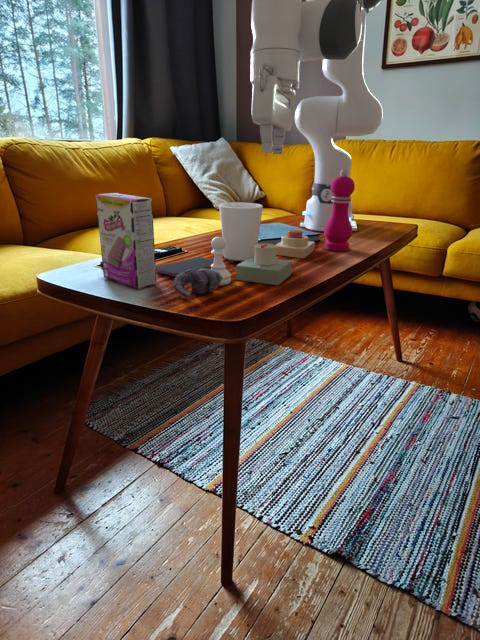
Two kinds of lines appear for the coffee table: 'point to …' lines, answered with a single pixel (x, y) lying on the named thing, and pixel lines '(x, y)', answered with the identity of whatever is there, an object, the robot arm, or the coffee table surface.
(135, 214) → the candy bar box
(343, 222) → the pepper mill
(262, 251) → the knob
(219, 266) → the chess pawn
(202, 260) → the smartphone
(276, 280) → the dial panel
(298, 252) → the button box
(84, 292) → the coffee table surface
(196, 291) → the grey elephant figurine
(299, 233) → the button
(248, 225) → the cup
